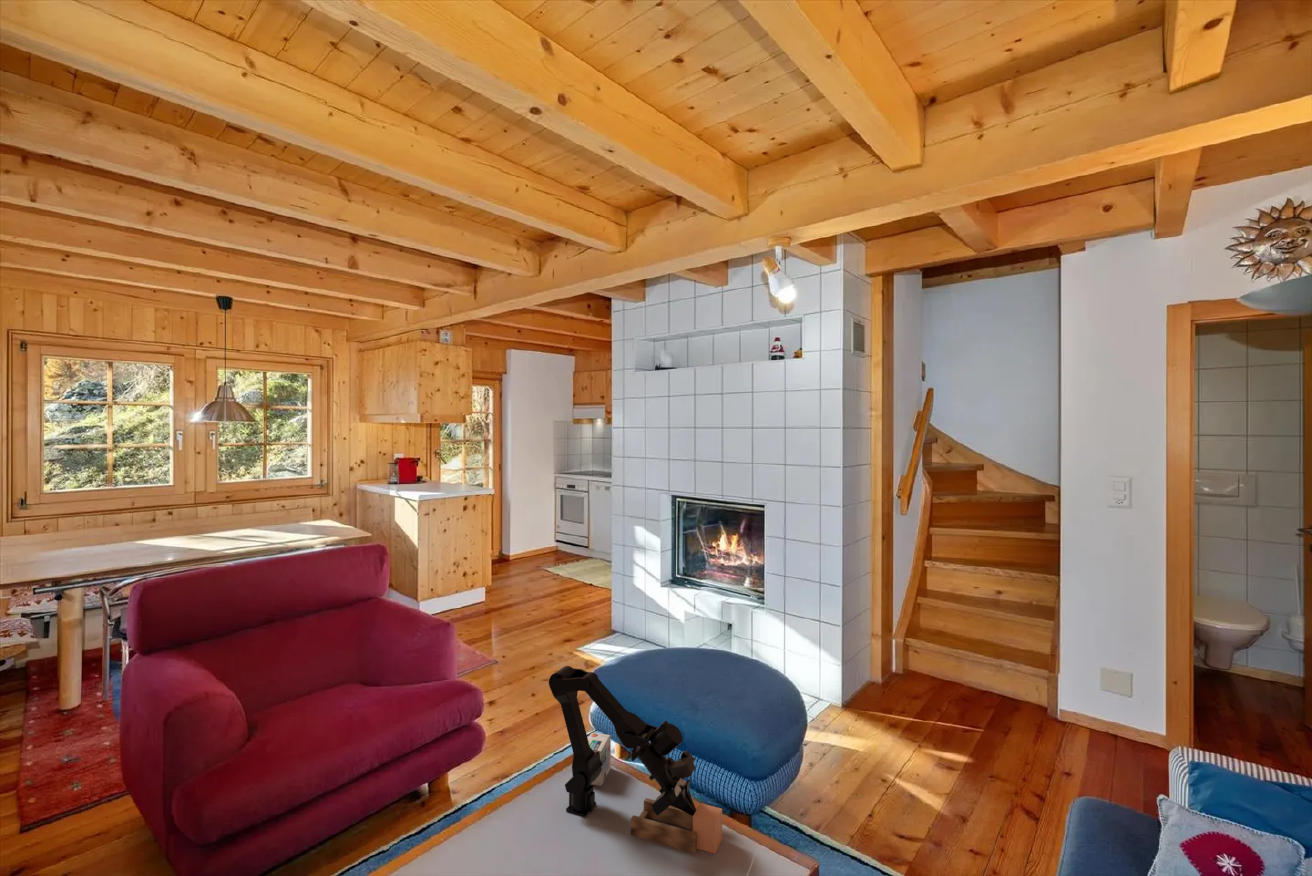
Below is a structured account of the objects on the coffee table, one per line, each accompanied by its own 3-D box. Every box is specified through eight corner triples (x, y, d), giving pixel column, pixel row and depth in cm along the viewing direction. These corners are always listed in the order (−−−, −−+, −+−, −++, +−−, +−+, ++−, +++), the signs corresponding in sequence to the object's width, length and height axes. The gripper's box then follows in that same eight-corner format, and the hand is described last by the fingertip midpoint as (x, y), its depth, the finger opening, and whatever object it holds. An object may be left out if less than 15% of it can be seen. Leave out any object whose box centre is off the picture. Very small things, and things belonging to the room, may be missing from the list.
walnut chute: (630, 835, 159) (630, 818, 159) (645, 814, 168) (645, 798, 168) (694, 854, 152) (694, 836, 152) (707, 830, 161) (707, 814, 161)
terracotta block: (692, 847, 154) (692, 816, 154) (700, 833, 160) (700, 803, 160) (715, 854, 152) (715, 822, 152) (722, 839, 157) (722, 809, 157)
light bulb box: (601, 787, 181) (601, 751, 181) (580, 784, 182) (580, 749, 182) (611, 767, 192) (611, 734, 192) (591, 765, 193) (591, 732, 193)
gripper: (663, 764, 151) (705, 819, 146) (688, 731, 168) (726, 779, 163) (634, 788, 154) (675, 843, 149) (662, 753, 171) (699, 801, 167)
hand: (695, 815), depth 157 cm, fingers closed, pressing on terracotta block
